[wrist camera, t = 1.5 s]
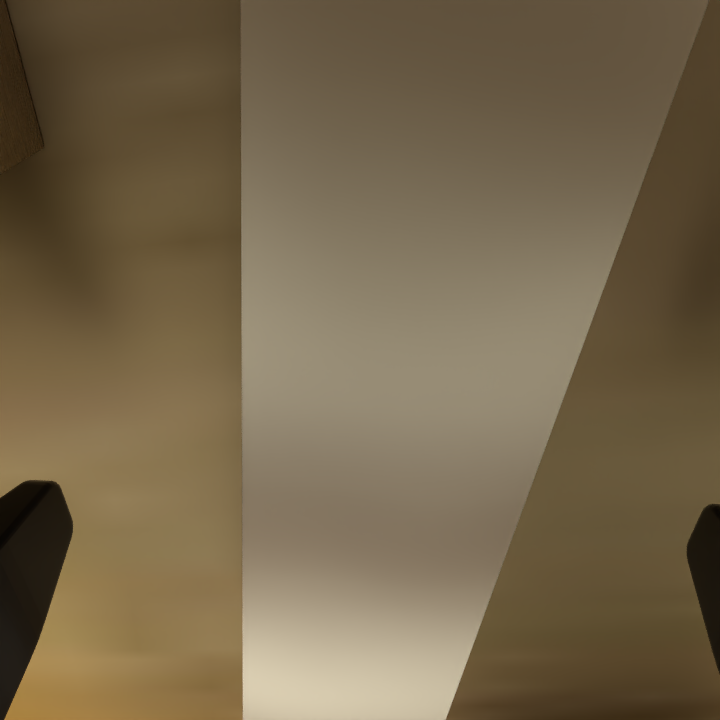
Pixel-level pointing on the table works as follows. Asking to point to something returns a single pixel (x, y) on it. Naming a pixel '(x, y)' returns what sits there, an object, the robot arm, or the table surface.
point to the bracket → (14, 102)
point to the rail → (418, 312)
